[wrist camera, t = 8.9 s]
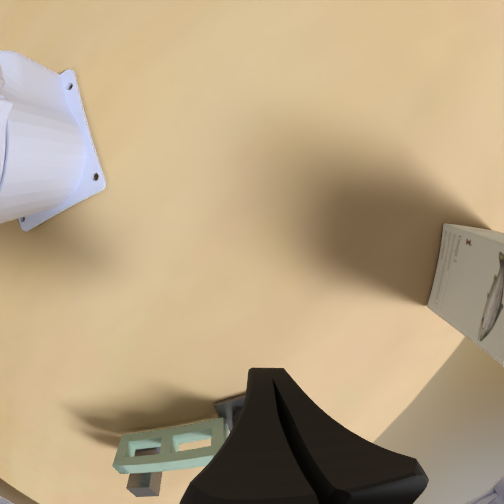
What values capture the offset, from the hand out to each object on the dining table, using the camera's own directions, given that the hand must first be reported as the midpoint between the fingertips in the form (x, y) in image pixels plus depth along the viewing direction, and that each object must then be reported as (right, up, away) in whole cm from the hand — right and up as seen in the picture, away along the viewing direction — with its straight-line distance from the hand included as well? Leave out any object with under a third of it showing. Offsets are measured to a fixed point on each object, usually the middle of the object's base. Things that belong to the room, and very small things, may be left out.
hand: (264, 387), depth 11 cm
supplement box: (+18, +4, +11) cm, 21 cm away
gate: (-7, -10, +11) cm, 17 cm away
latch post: (-10, -14, +13) cm, 22 cm away
